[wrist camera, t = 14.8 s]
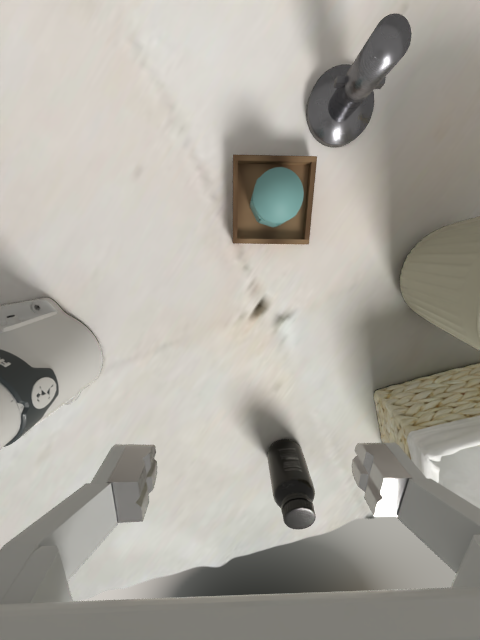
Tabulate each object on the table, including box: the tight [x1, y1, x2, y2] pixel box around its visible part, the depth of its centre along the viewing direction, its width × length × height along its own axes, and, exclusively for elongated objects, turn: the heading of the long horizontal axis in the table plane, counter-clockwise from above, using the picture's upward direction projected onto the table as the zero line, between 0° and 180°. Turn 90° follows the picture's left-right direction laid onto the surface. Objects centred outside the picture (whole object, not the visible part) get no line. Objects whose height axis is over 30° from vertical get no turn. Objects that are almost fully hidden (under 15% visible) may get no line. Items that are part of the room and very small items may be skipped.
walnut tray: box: [233, 155, 317, 244], centre depth 32 cm, size 10×10×2 cm
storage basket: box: [374, 363, 480, 509], centre depth 37 cm, size 24×16×15 cm
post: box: [306, 14, 411, 147], centre depth 25 cm, size 8×8×11 cm
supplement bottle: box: [267, 439, 316, 529], centre depth 41 cm, size 7×7×12 cm
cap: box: [250, 167, 304, 227], centre depth 30 cm, size 6×6×5 cm
